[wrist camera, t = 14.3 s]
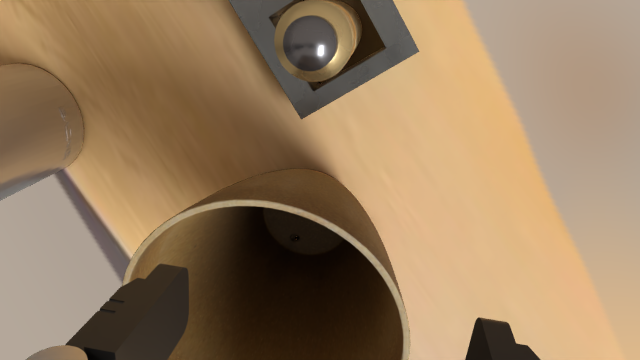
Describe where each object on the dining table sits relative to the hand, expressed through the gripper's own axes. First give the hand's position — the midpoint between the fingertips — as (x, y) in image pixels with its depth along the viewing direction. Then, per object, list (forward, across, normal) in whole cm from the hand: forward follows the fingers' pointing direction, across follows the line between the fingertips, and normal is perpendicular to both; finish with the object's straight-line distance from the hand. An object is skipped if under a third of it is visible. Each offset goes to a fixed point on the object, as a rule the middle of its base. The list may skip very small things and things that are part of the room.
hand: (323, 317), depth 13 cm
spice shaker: (+24, +3, -6) cm, 25 cm away
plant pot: (+24, +4, +8) cm, 26 cm away
